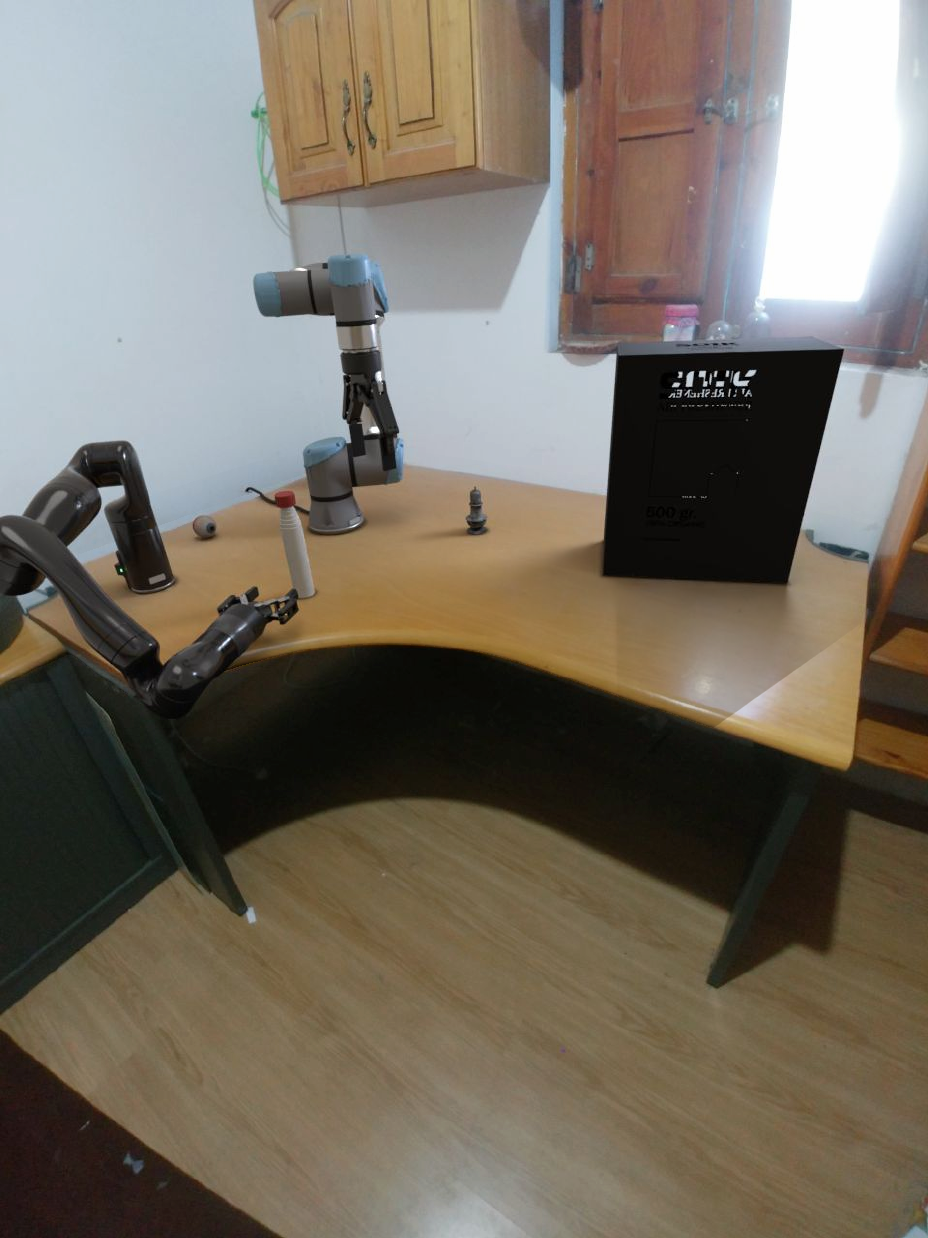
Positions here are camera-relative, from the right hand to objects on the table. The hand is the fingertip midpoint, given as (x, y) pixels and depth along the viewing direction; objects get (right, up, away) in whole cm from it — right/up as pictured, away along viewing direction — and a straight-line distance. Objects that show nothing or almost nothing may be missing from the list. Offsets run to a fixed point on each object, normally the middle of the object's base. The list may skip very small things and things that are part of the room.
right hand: (374, 462), depth 124 cm
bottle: (-17, -27, +10) cm, 33 cm away
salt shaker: (+22, -9, +37) cm, 44 cm away
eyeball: (-52, -10, +43) cm, 68 cm away
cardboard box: (+70, -19, +14) cm, 74 cm away
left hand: (-19, -27, -2) cm, 33 cm away
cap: (-18, -7, -2) cm, 19 cm away
